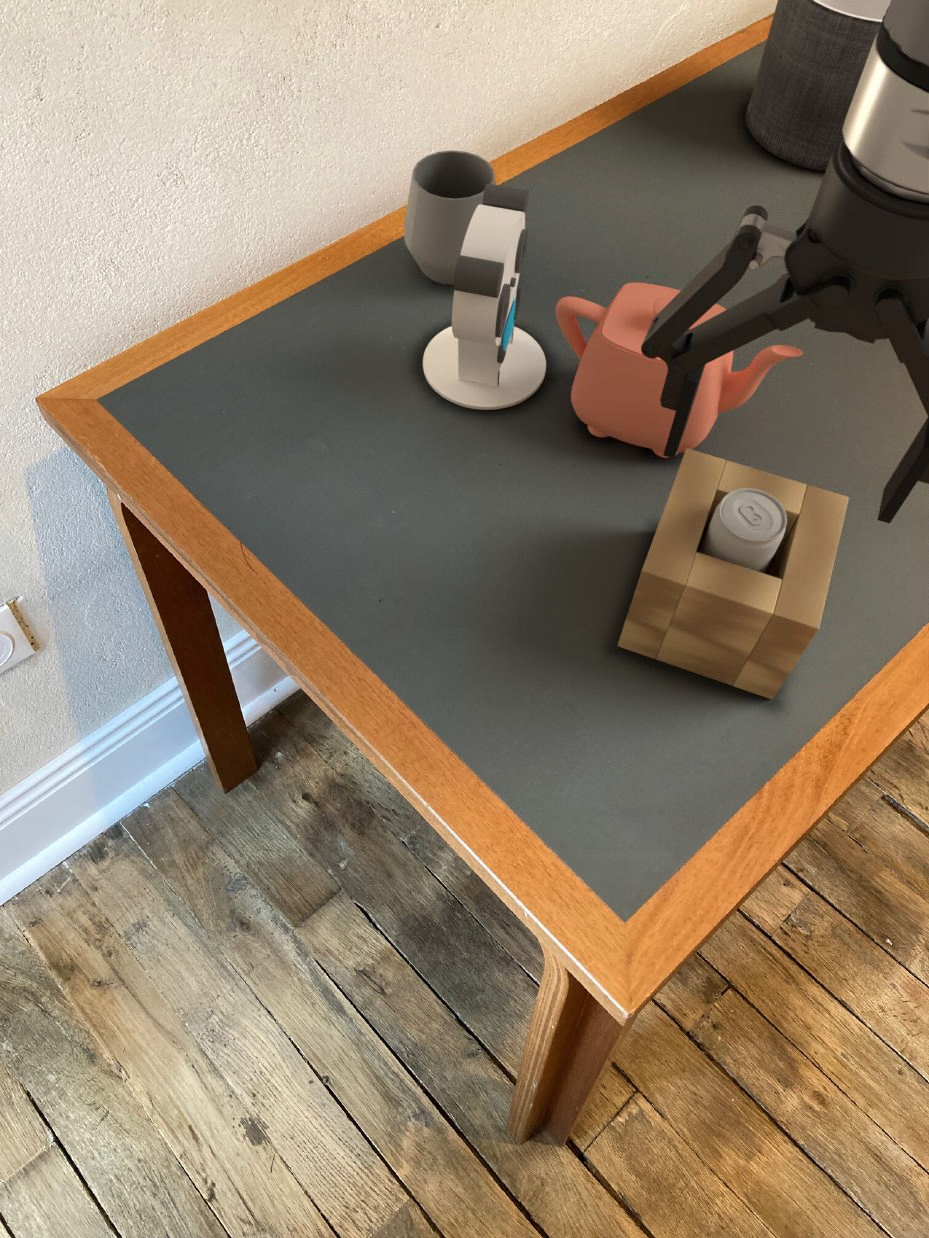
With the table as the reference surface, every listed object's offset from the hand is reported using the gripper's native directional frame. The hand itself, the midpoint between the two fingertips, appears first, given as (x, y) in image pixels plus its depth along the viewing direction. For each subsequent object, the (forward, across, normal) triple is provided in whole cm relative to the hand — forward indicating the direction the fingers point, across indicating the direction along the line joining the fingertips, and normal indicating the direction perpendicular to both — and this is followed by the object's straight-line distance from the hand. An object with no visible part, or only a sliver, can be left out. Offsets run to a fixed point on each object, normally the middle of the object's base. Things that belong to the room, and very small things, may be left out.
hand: (778, 474), depth 59 cm
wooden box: (+16, 0, 0) cm, 16 cm away
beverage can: (+16, 0, 0) cm, 16 cm away
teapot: (+16, -10, +18) cm, 26 cm away
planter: (+17, -4, +70) cm, 72 cm away
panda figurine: (+16, -26, +18) cm, 35 cm away
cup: (+16, -34, +30) cm, 48 cm away
